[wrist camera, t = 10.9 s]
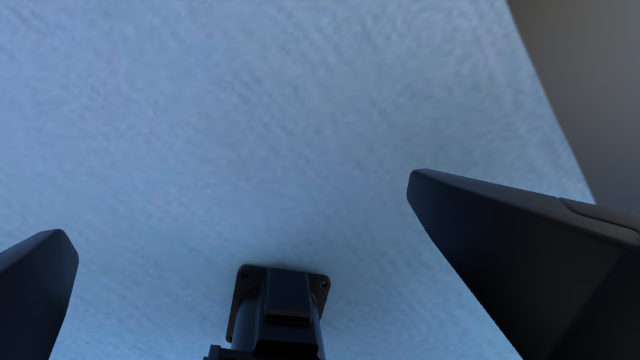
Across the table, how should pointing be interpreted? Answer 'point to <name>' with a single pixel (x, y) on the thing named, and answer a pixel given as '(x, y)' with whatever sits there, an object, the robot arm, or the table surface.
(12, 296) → the robot arm
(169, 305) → the table surface
